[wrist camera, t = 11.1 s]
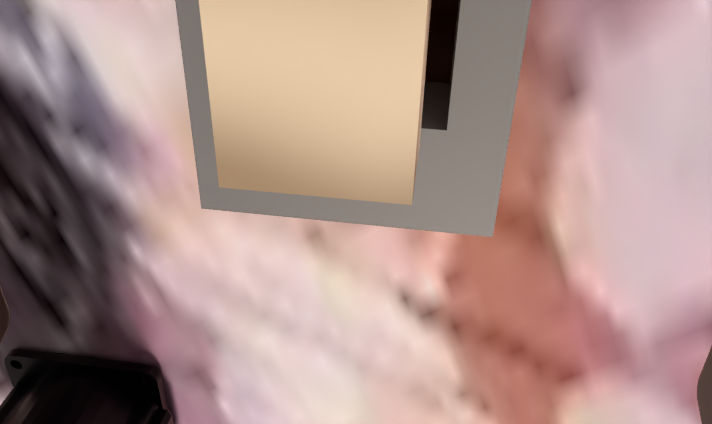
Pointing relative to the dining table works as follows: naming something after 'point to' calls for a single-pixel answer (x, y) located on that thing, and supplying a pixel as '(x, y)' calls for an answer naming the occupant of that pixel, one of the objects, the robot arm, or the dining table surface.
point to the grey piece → (437, 140)
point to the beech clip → (317, 95)
